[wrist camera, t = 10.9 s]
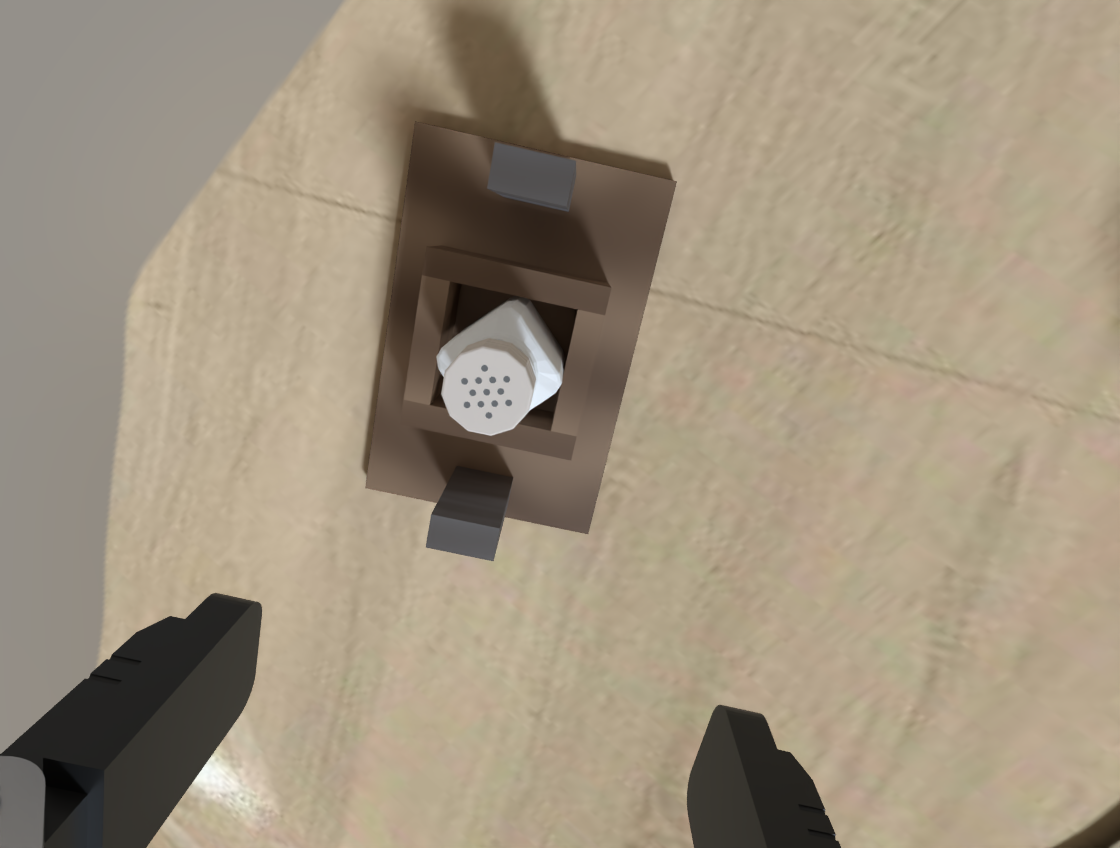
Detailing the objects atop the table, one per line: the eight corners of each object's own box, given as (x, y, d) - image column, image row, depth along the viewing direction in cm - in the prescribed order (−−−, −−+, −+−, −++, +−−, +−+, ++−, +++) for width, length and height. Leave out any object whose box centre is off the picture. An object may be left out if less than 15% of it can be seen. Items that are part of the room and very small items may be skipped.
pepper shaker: (502, 400, 32) (473, 467, 23) (456, 333, 31) (405, 375, 22) (569, 358, 31) (566, 409, 22) (523, 288, 30) (501, 311, 21)
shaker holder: (419, 124, 29) (374, 92, 23) (674, 183, 30) (701, 168, 23) (370, 482, 34) (321, 540, 28) (587, 527, 35) (590, 595, 28)
